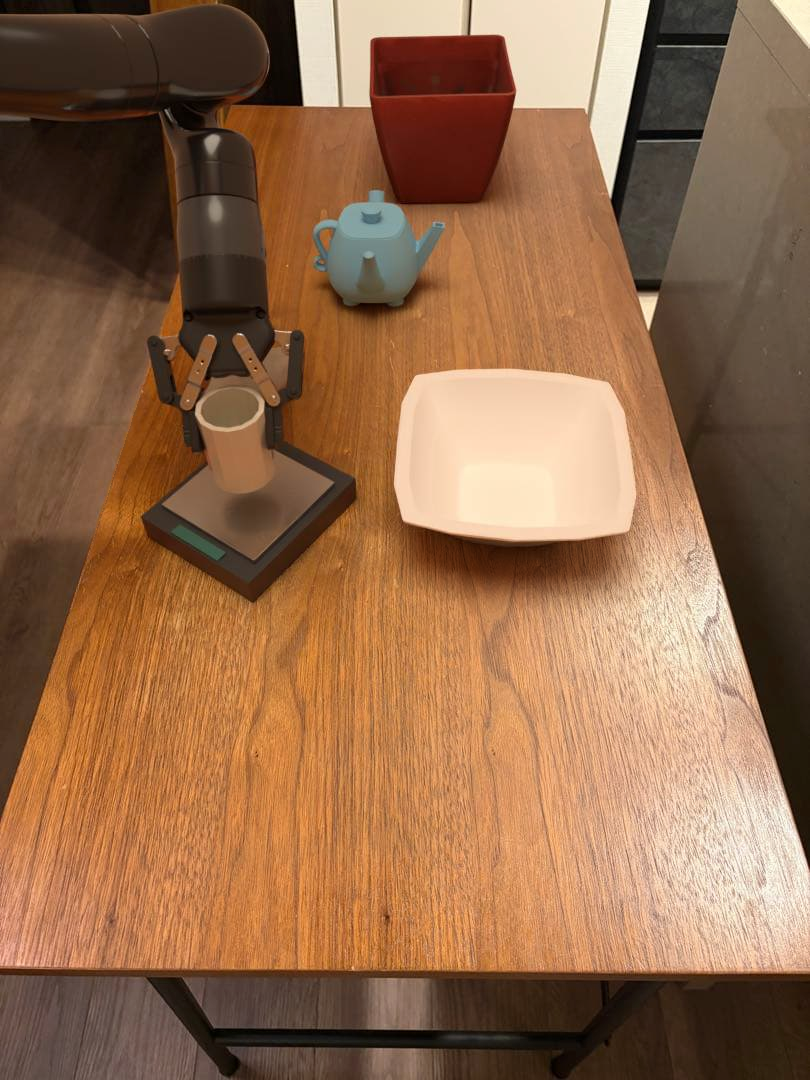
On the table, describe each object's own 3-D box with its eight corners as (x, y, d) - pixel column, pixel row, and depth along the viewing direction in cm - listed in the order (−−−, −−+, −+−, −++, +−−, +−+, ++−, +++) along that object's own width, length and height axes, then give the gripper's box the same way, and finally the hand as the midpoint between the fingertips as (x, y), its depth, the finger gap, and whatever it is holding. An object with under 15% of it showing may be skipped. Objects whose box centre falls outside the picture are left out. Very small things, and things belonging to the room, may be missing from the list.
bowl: (604, 431, 93) (619, 371, 87) (625, 602, 79) (645, 545, 72) (405, 423, 94) (404, 363, 88) (389, 590, 80) (387, 533, 73)
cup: (246, 503, 78) (232, 441, 72) (198, 475, 80) (180, 412, 74) (288, 465, 81) (278, 402, 75) (241, 439, 83) (227, 375, 77)
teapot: (454, 294, 109) (458, 212, 101) (371, 336, 104) (367, 254, 95) (380, 244, 117) (377, 164, 108) (299, 282, 111) (289, 201, 103)
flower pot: (373, 216, 121) (368, 94, 108) (374, 152, 134) (370, 35, 120) (506, 215, 122) (517, 93, 108) (495, 150, 134) (504, 34, 121)
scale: (253, 602, 79) (248, 582, 76) (147, 536, 84) (139, 514, 81) (357, 498, 87) (355, 476, 85) (255, 443, 92) (250, 421, 90)
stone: (318, 363, 97) (240, 392, 88) (299, 401, 101) (223, 432, 93) (285, 329, 98) (205, 354, 89) (268, 367, 102) (190, 395, 94)
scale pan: (254, 564, 78) (253, 560, 77) (162, 508, 82) (160, 504, 82) (335, 486, 84) (335, 482, 84) (245, 437, 88) (244, 433, 88)
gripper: (127, 253, 70) (144, 456, 72) (301, 246, 71) (313, 447, 73) (150, 272, 78) (165, 455, 79) (307, 266, 78) (318, 448, 80)
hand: (235, 451), depth 76 cm, fingers closed on cup, 6 cm apart
